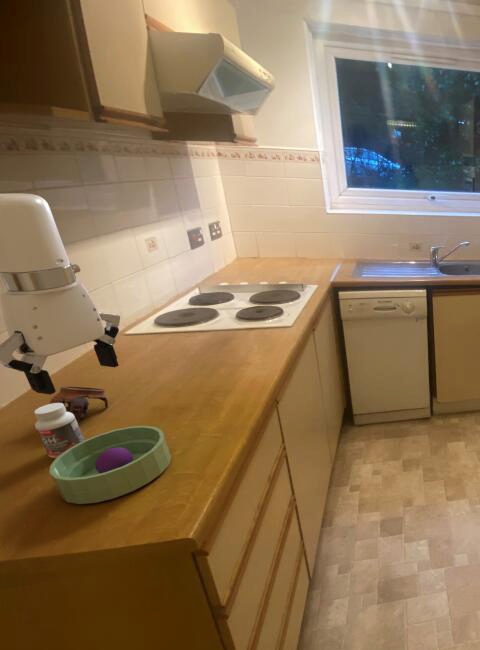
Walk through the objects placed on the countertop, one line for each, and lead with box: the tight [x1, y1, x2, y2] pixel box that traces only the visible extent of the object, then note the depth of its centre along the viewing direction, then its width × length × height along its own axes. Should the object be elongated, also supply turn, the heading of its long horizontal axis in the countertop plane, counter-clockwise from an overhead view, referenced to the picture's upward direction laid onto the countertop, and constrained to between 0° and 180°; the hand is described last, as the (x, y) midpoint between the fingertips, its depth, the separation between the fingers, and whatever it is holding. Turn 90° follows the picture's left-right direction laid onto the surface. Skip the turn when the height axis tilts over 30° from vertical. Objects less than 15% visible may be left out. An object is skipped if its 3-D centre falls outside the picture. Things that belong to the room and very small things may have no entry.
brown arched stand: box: [49, 386, 109, 423], centre depth 95 cm, size 12×10×8 cm
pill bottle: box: [33, 403, 86, 459], centre depth 83 cm, size 5×5×10 cm
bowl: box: [49, 425, 173, 505], centre depth 78 cm, size 15×15×6 cm
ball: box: [95, 448, 133, 474], centre depth 78 cm, size 5×5×5 cm
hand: (79, 378), depth 72 cm, fingers open, 9 cm apart
